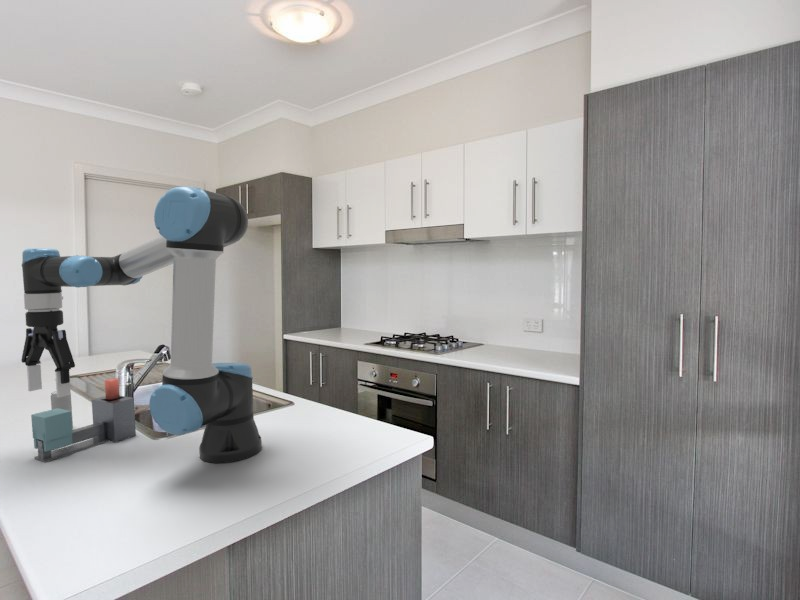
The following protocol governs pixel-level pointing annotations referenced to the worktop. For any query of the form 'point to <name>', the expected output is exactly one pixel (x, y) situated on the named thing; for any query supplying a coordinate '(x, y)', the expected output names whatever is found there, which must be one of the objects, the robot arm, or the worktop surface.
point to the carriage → (52, 428)
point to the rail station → (98, 427)
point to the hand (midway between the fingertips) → (49, 393)
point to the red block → (112, 388)
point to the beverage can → (61, 403)
